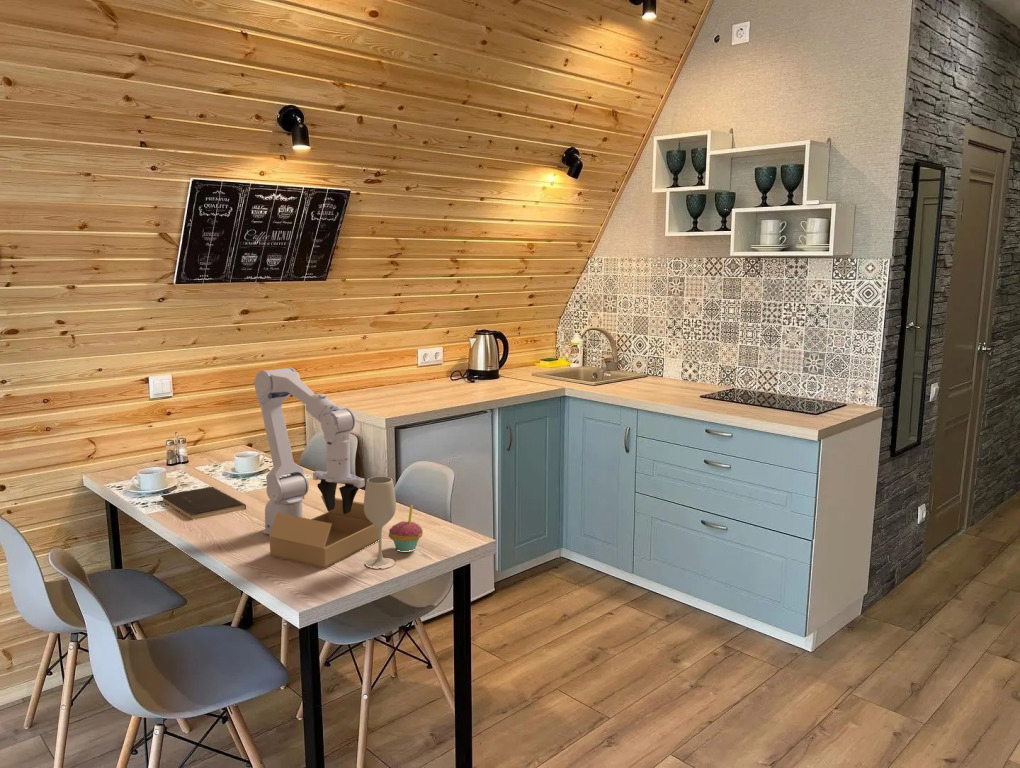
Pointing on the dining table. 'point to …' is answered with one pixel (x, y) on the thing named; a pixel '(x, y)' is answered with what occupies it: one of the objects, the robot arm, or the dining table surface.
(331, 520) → the carton
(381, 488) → the wineglass
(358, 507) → the flap
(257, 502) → the dining table surface
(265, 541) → the dining table surface
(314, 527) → the flap
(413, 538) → the cupcake
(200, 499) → the hardcover book
